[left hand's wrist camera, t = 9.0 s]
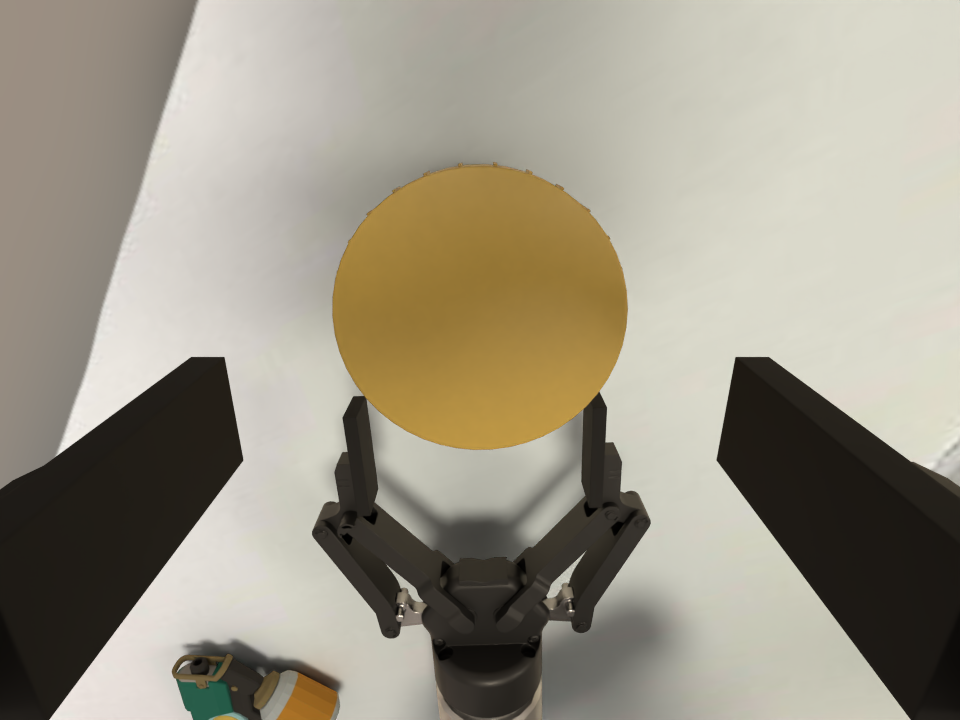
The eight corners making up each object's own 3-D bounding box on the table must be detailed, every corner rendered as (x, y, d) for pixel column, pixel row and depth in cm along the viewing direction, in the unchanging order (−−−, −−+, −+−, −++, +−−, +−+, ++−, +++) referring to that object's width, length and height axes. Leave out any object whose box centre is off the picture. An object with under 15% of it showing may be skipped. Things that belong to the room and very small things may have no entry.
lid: (306, 368, 22) (291, 388, 20) (404, 108, 18) (396, 104, 17) (539, 463, 24) (543, 488, 22) (669, 240, 20) (687, 249, 18)
